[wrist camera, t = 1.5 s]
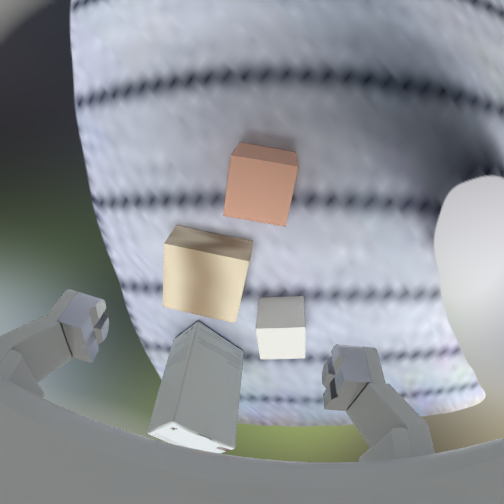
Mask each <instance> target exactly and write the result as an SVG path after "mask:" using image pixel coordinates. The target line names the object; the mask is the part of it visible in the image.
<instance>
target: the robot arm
mask: <svg viewBox="0 0 504 504" xmlns="http://www.w3.org/2000/svg"><path fill="white" fill-rule="evenodd" d="M105 309H106V305H105V301H104V300H102V299H99V298H96V297H93V296H90V295H86V294H83V293H79V292H76V291H73V290H70V289H69V290H66V291H65V292H64V294H63V295H62V296H61V297H60V299H59V300H58V301H57V302H56V304H55V305H54V307H53V308H52V309H51V310H50V312H49V313H48V314H47V316H46V317H43V316H42V317H40V318H38V319H36V320H33V321H31V322H29V323H27V324H25V325H23V326H20V327H18V328H16V329H14V330H12V331H10V332H8V333H6V334H4V335H2V336H0V504H504V439H495V440H492V441H489V442H485V443H481V444H478V445H474V446H470V447H465V448H461V449H456V450H452V451H446V452H441V453H436V454H435V452H434V448H433V443H432V440H431V435H430V431H429V427H428V424H427V423H426V422H425V421H424V420H423V419H422V418H421V417H420V416H419V415H418V414H417V413H416V412H415V411H414V409H413V408H412V407H411V406H410V405H409V404H408V403H407V402H406V401H405V400H404V399H403V398H402V397H401V396H400V395H399V394H398V393H397V392H396V390H395V389H394V388H393V387H392V386H391V385H390V384H386V383H385V379H384V375H383V371H382V367H381V363H380V360H379V356H378V352H377V350H376V349H375V348H369V347H359V346H348V345H339V344H336V345H335V346H334V347H333V349H332V351H331V353H332V357H330V358H328V359H327V360H326V362H325V364H324V367H323V371H322V384H323V385H324V386H325V387H326V390H325V392H324V394H323V397H324V408H325V409H328V410H341V411H346V413H347V414H348V416H349V417H350V419H351V420H352V422H353V423H354V424H355V426H356V427H357V429H358V430H359V432H360V433H361V435H362V436H363V438H364V439H365V441H366V442H367V444H368V445H369V447H370V449H369V450H368V451H367V452H365V453H364V454H363V455H362V456H361V457H360V458H359V462H343V463H341V462H340V463H318V462H291V461H276V460H265V459H256V458H247V457H239V456H232V455H226V454H220V453H214V452H208V451H203V450H198V449H193V448H188V447H183V446H179V445H175V444H170V443H166V442H162V441H158V440H155V439H151V438H147V437H144V436H140V435H137V434H133V433H130V432H127V431H124V430H121V429H118V428H115V427H111V426H109V425H106V424H103V423H101V422H98V421H95V420H92V419H90V418H87V417H85V416H82V415H80V414H77V413H75V412H72V411H70V410H67V409H65V408H63V407H61V406H58V405H56V404H54V403H52V402H50V401H47V400H45V399H43V398H44V392H43V391H42V389H41V387H40V386H39V384H38V382H39V381H41V380H42V379H44V378H45V377H46V376H48V375H49V374H51V373H52V372H53V371H55V370H56V369H58V368H59V367H60V366H62V365H63V364H65V363H66V362H68V361H69V360H71V359H72V357H74V358H77V359H80V360H83V361H86V362H90V363H92V362H93V360H94V359H95V357H96V355H97V353H98V351H99V348H98V344H99V343H101V342H103V341H104V339H105V338H106V336H107V332H108V329H109V320H108V316H107V315H106V314H105V313H104V310H105Z"/></svg>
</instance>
